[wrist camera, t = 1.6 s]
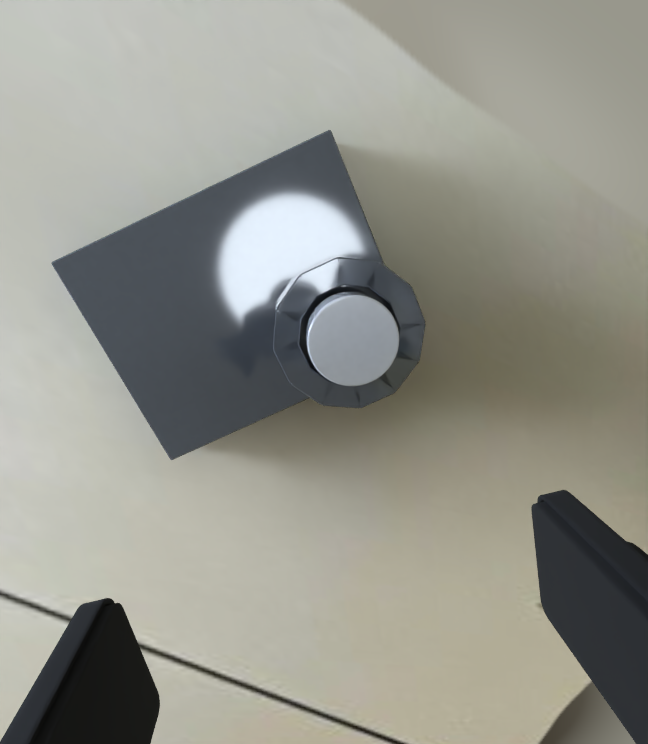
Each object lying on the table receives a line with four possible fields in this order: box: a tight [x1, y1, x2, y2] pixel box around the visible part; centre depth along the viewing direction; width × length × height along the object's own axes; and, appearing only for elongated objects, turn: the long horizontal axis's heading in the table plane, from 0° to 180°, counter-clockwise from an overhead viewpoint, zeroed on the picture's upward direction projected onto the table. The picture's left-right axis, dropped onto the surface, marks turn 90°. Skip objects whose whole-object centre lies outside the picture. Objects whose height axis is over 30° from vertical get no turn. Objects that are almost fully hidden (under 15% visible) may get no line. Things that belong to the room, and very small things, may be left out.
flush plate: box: [52, 130, 425, 460], centre depth 22 cm, size 14×12×4 cm
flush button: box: [306, 292, 399, 386], centre depth 20 cm, size 4×4×2 cm
